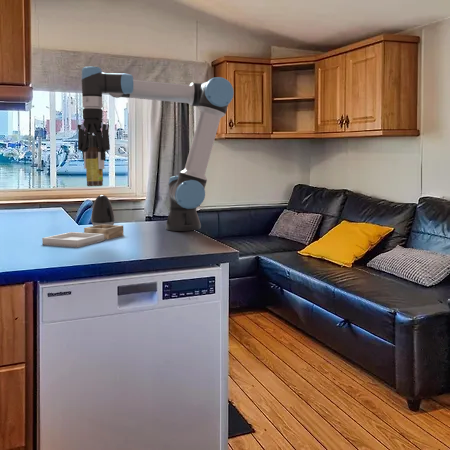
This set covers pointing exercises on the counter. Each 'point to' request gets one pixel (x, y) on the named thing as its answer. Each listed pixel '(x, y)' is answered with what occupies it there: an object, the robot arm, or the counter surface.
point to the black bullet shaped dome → (102, 211)
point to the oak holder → (106, 230)
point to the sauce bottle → (93, 163)
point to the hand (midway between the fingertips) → (94, 168)
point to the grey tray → (73, 239)
